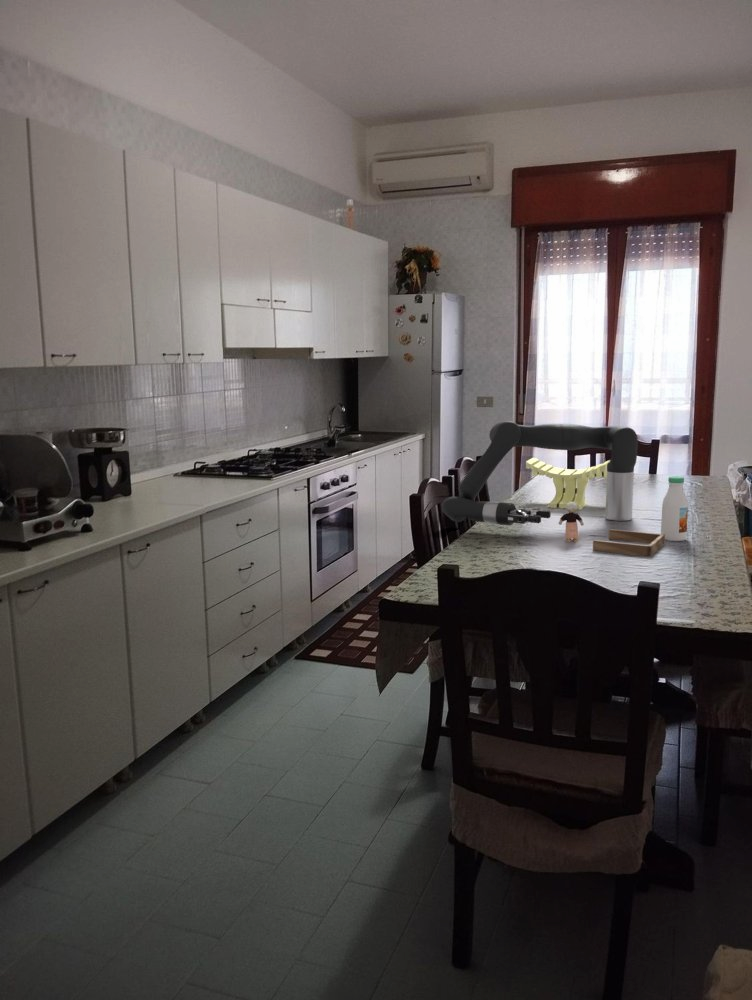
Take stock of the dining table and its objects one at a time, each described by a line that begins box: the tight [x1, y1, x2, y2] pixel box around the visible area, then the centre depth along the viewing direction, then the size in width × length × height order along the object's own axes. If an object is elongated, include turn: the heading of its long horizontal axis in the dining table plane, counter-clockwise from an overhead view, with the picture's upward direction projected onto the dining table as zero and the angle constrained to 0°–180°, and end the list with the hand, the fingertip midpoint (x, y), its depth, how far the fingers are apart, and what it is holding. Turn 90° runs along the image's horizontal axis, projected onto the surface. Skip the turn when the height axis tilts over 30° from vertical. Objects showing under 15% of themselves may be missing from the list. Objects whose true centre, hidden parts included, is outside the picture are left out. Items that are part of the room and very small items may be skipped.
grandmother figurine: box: [558, 502, 585, 543], centre depth 253 cm, size 8×4×13 cm, turn 92°
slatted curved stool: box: [525, 457, 611, 510], centre depth 313 cm, size 30×16×18 cm, turn 66°
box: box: [592, 529, 666, 557], centre depth 244 cm, size 18×17×3 cm
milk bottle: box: [660, 475, 689, 542], centre depth 252 cm, size 8×8×20 cm
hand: (545, 517), depth 258 cm, fingers open, 8 cm apart
